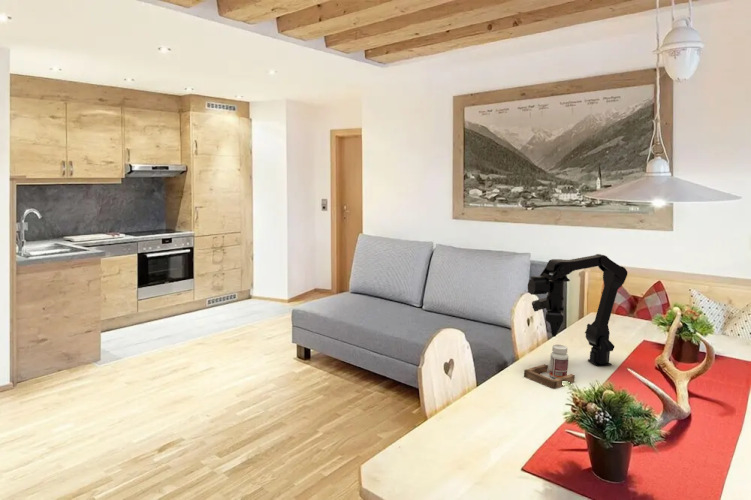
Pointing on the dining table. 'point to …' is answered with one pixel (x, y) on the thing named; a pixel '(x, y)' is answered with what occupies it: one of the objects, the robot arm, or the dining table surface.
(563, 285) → the robot arm
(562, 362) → the pill bottle
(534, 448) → the dining table surface
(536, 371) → the brown wooden tray
